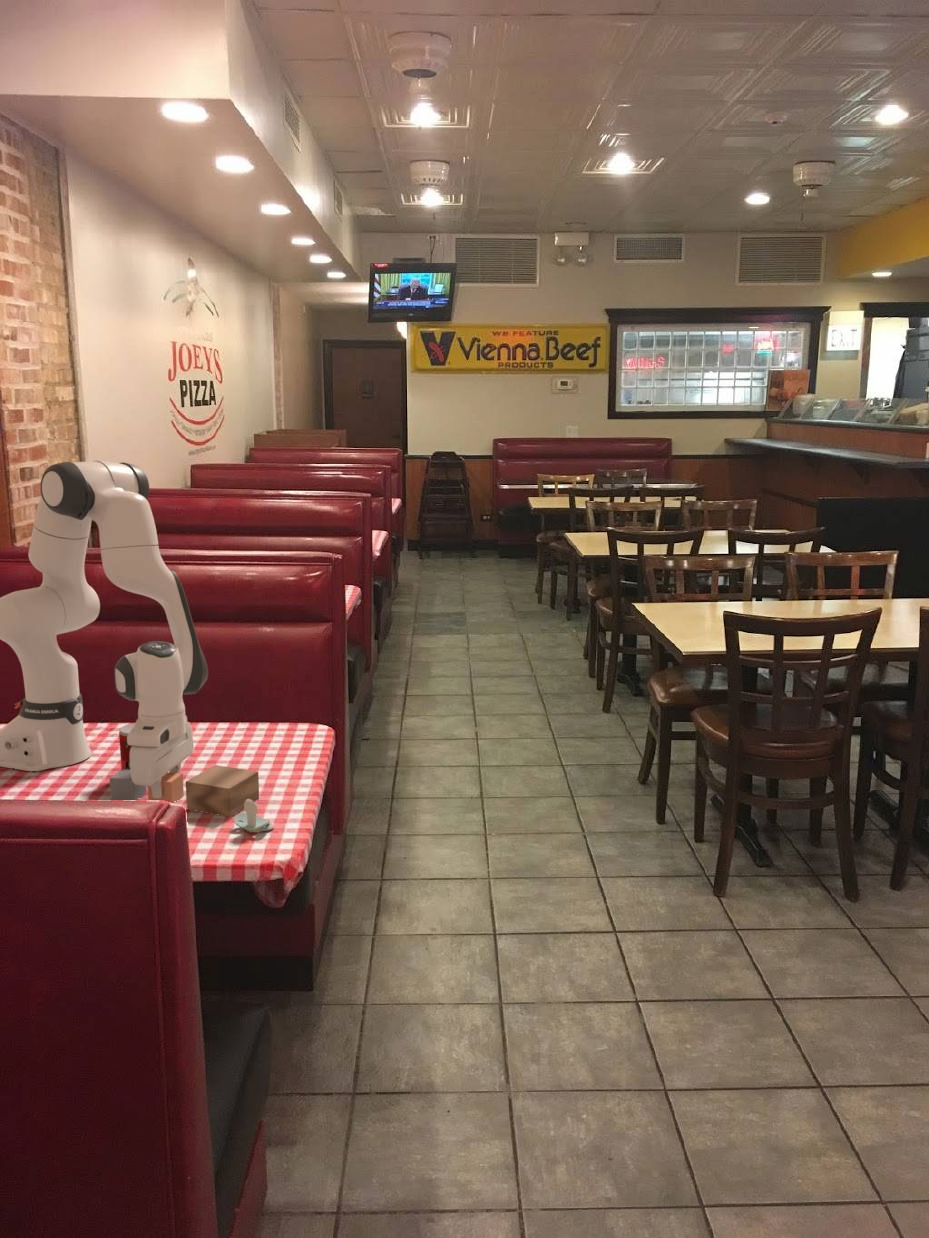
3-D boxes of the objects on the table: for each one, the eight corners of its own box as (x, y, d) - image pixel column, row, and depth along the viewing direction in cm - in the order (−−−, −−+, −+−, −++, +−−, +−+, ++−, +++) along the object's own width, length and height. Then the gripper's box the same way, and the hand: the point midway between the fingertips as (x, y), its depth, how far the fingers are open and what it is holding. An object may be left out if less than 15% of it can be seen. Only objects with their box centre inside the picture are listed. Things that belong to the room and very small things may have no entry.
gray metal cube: (111, 801, 189) (109, 777, 188) (123, 792, 194) (122, 769, 193) (134, 803, 188) (133, 779, 187) (146, 794, 193) (145, 770, 192)
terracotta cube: (148, 804, 188) (147, 780, 187) (160, 795, 193) (159, 771, 192) (172, 806, 187) (171, 782, 186) (183, 796, 192) (182, 773, 191)
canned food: (125, 786, 197) (121, 735, 195) (119, 773, 204) (116, 724, 202) (163, 780, 200) (160, 730, 198) (156, 768, 207) (153, 720, 205)
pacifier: (254, 819, 181) (230, 828, 177) (254, 788, 180) (230, 796, 176) (281, 829, 177) (257, 839, 172) (281, 797, 176) (257, 806, 171)
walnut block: (186, 810, 185) (185, 781, 184) (217, 792, 194) (216, 765, 193) (230, 818, 182) (229, 788, 181) (259, 799, 191) (258, 771, 190)
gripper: (170, 708, 197) (174, 771, 200) (122, 739, 177) (126, 809, 180) (199, 710, 196) (202, 773, 199) (153, 741, 176) (157, 811, 179)
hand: (165, 790), depth 189 cm, fingers open, 5 cm apart
